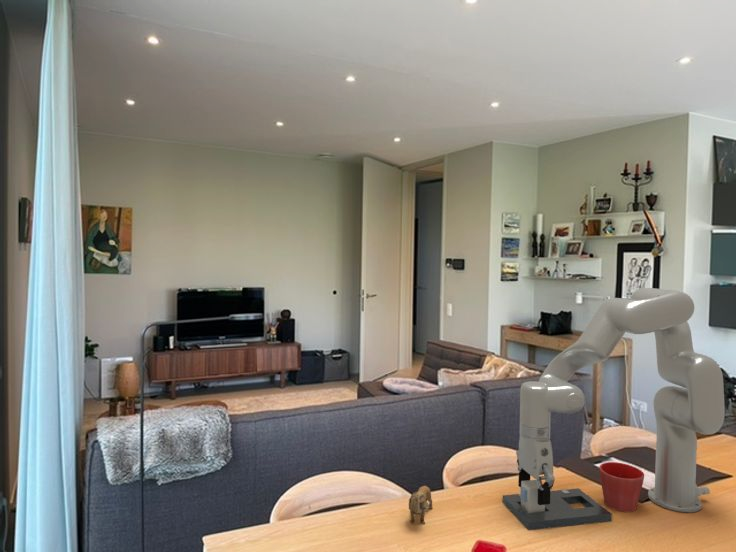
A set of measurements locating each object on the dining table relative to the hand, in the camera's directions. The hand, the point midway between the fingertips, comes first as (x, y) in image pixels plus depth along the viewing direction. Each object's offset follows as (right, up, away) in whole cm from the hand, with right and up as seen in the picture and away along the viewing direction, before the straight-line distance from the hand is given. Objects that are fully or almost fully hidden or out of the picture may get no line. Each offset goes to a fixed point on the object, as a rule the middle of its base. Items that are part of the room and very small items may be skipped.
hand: (533, 495), depth 131 cm
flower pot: (+25, -5, +5) cm, 26 cm away
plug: (0, -5, 0) cm, 5 cm away
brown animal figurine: (-29, -5, -2) cm, 30 cm away
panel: (+6, -5, +1) cm, 8 cm away
